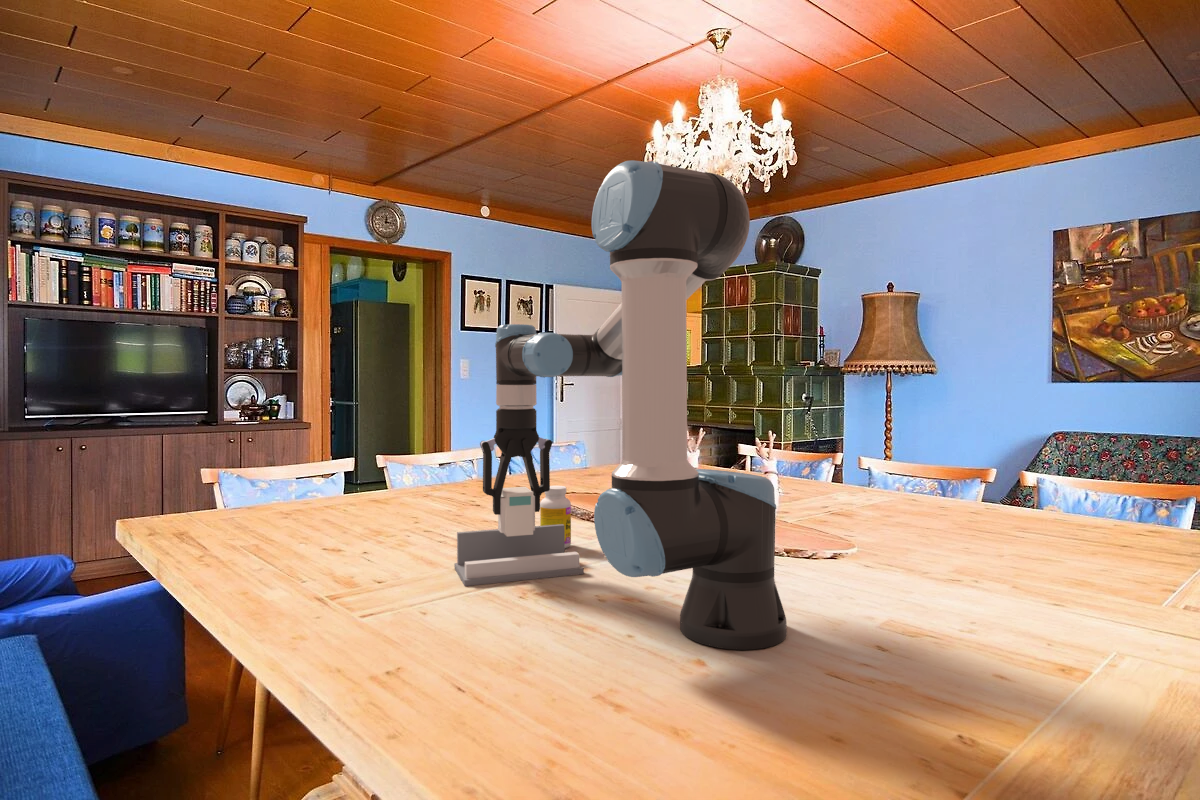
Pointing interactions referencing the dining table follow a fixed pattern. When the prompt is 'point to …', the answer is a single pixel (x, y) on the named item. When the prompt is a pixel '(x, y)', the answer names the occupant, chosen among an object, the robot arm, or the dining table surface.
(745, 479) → the robot arm
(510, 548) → the rail base
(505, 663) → the dining table surface
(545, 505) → the supplement bottle
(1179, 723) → the dining table surface
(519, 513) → the block
